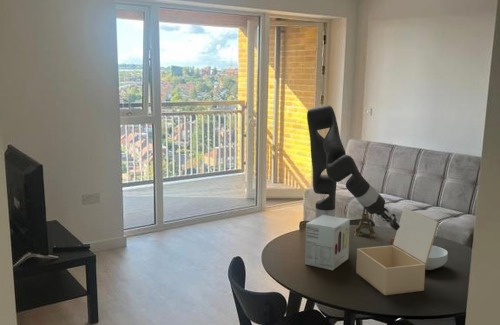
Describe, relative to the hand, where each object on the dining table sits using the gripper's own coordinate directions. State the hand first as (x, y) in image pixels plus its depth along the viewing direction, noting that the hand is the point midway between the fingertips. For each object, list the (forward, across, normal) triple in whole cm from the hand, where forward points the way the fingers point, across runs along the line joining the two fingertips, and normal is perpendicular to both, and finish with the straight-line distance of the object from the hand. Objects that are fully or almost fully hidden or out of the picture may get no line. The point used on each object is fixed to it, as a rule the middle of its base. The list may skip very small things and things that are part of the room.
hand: (397, 228), depth 180 cm
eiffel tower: (+29, -59, -1) cm, 65 cm away
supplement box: (+4, -27, -26) cm, 38 cm away
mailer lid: (+8, -1, +3) cm, 9 cm away
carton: (+34, -30, +4) cm, 46 cm away
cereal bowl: (+30, -11, 0) cm, 32 cm away
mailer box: (+14, -2, -16) cm, 21 cm away
